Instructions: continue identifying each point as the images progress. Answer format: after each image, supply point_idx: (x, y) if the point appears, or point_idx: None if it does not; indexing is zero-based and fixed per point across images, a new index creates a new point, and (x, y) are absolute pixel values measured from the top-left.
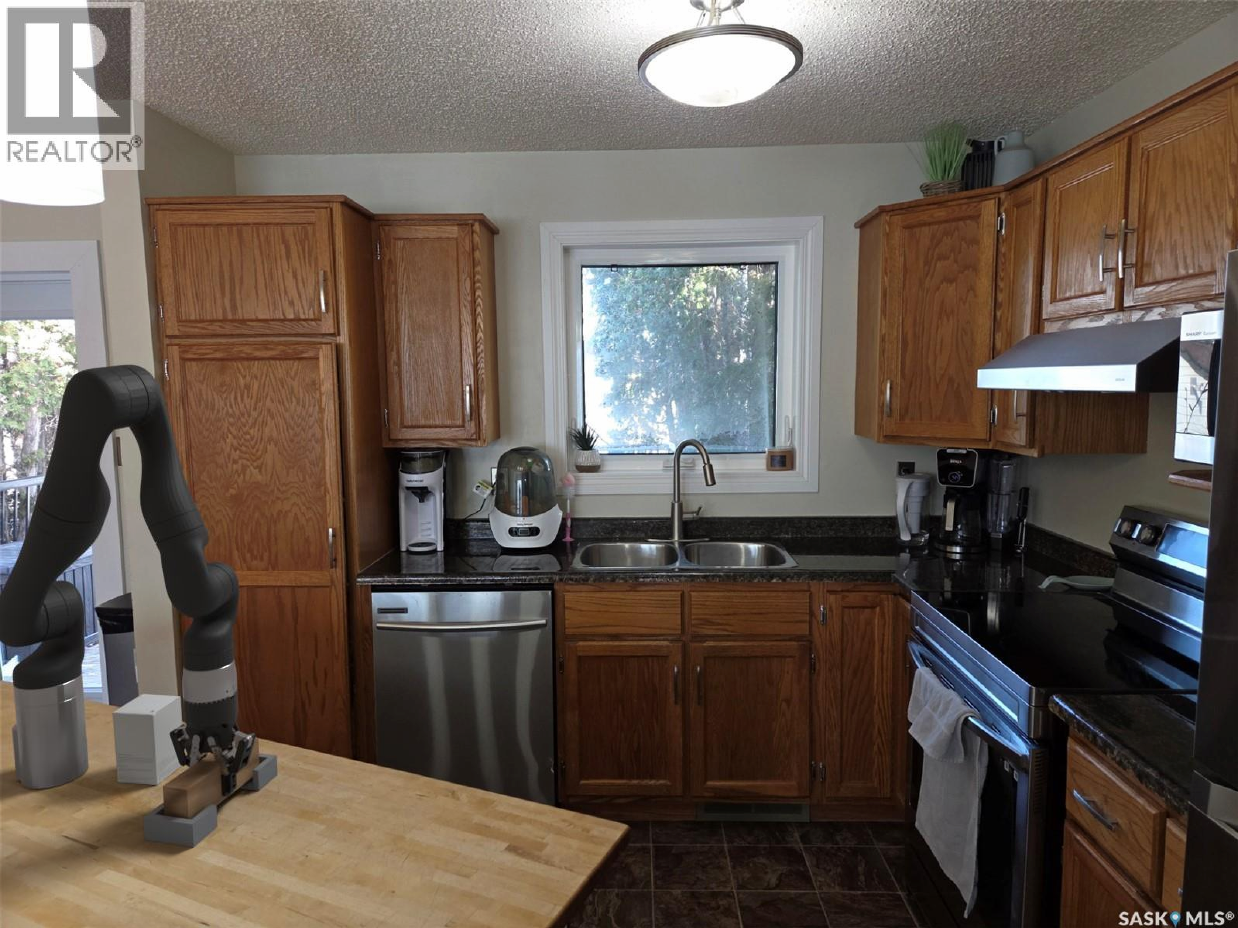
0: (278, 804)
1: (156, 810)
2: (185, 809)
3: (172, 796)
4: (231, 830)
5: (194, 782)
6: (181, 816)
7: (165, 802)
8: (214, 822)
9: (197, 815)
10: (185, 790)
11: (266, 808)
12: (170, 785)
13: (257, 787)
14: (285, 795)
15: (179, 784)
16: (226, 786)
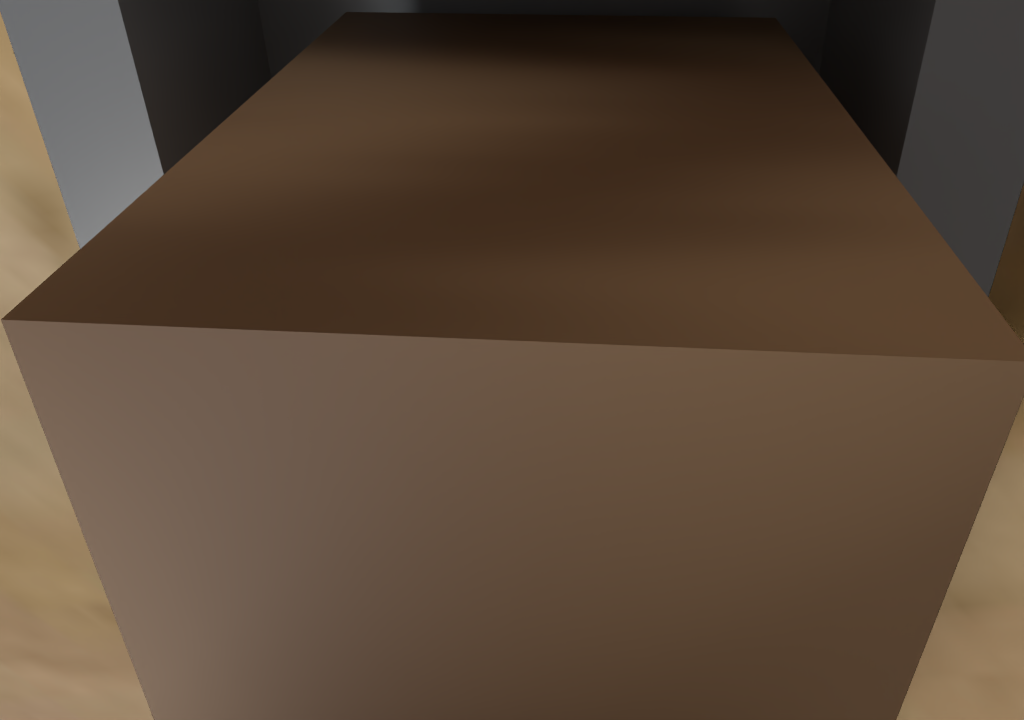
0: (42, 578)
1: (979, 52)
2: (306, 91)
3: (609, 199)
4: (54, 204)
5: (189, 629)
6: (447, 57)
7: (809, 133)
8: None
9: (126, 86)
10: (79, 304)
11: (80, 527)
12: (767, 435)
13: None
14: (102, 665)
15: (512, 514)
16: None
